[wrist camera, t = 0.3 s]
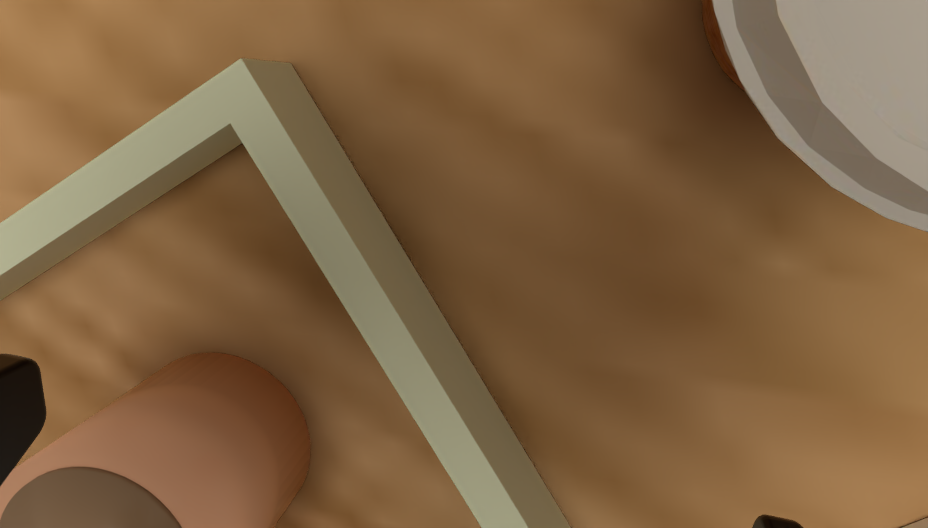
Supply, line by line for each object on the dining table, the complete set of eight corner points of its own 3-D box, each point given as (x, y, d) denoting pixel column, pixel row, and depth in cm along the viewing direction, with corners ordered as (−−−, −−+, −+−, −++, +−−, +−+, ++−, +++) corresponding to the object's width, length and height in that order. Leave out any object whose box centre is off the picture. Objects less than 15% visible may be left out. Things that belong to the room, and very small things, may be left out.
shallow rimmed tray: (167, 733, 29) (114, 817, 26) (-118, 336, 27) (-216, 371, 24) (587, 553, 25) (589, 626, 22) (290, 62, 23) (240, 58, 19)
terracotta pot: (201, 549, 27) (73, 707, 20) (101, 402, 26) (-68, 514, 19) (345, 478, 26) (260, 622, 19) (243, 320, 25) (115, 409, 18)
